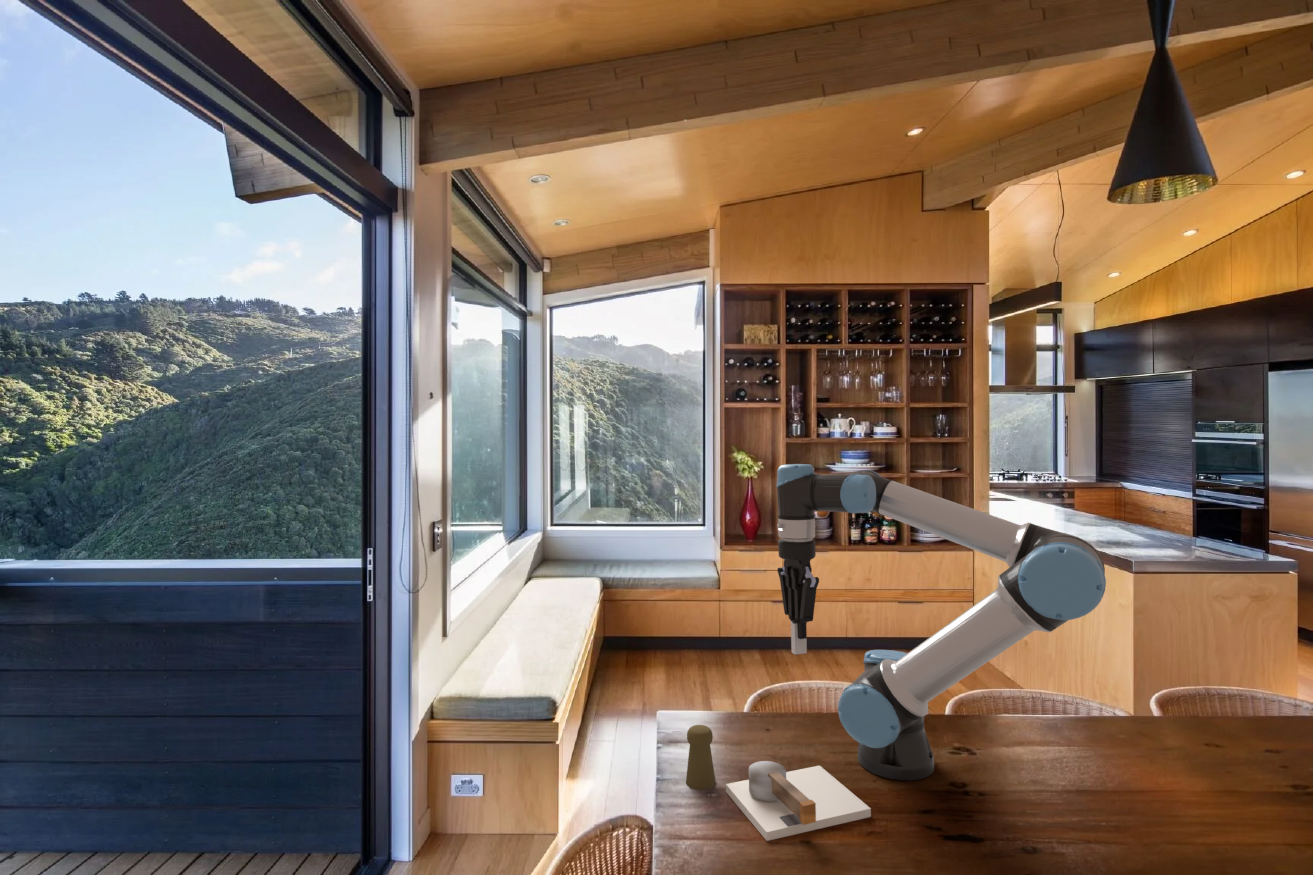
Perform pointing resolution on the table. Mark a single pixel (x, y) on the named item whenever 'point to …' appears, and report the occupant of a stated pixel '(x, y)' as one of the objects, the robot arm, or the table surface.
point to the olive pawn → (700, 758)
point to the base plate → (815, 785)
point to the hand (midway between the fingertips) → (799, 652)
